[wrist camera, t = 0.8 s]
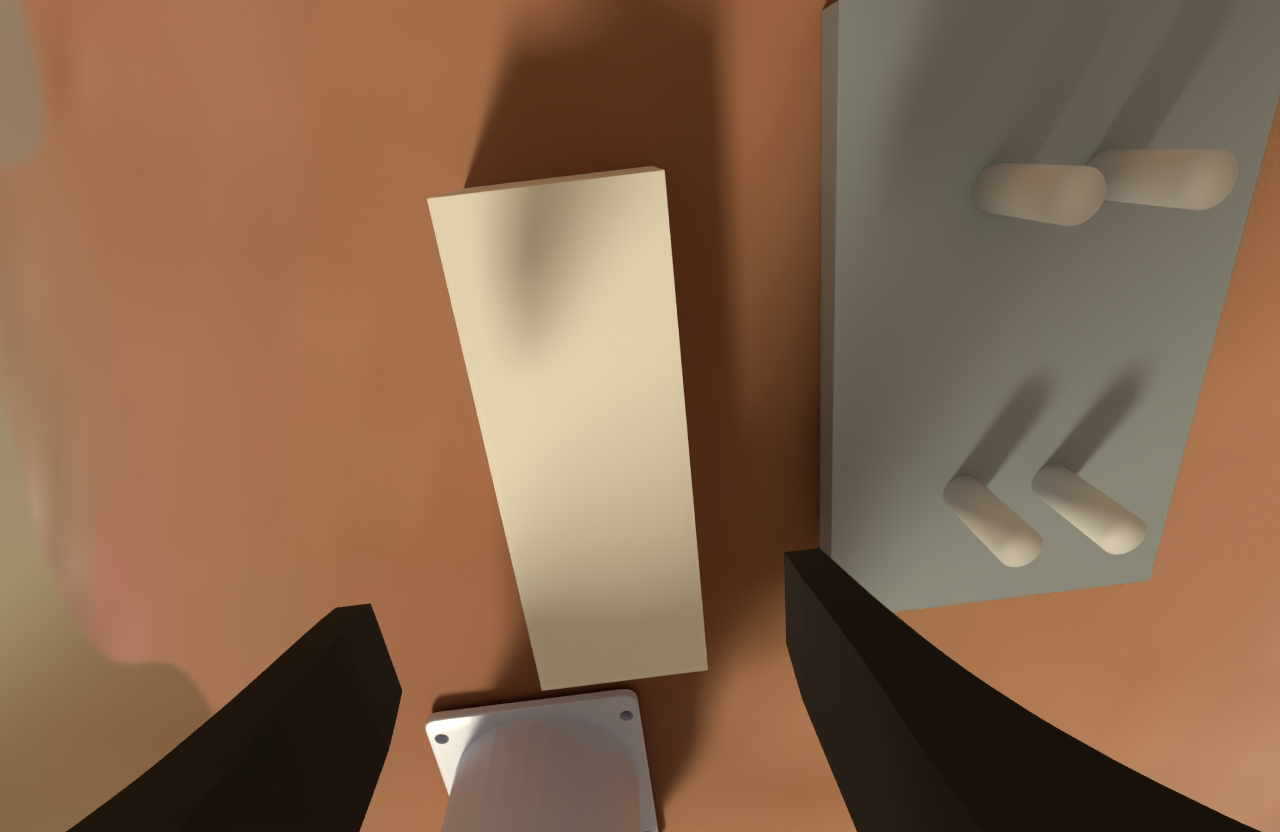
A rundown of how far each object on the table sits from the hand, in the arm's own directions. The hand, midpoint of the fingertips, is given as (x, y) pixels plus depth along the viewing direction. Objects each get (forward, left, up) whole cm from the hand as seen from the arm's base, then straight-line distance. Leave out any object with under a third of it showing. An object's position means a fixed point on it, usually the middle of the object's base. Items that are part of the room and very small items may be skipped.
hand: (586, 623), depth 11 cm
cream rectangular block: (0, 0, -9) cm, 9 cm away
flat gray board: (+1, -12, -9) cm, 15 cm away
